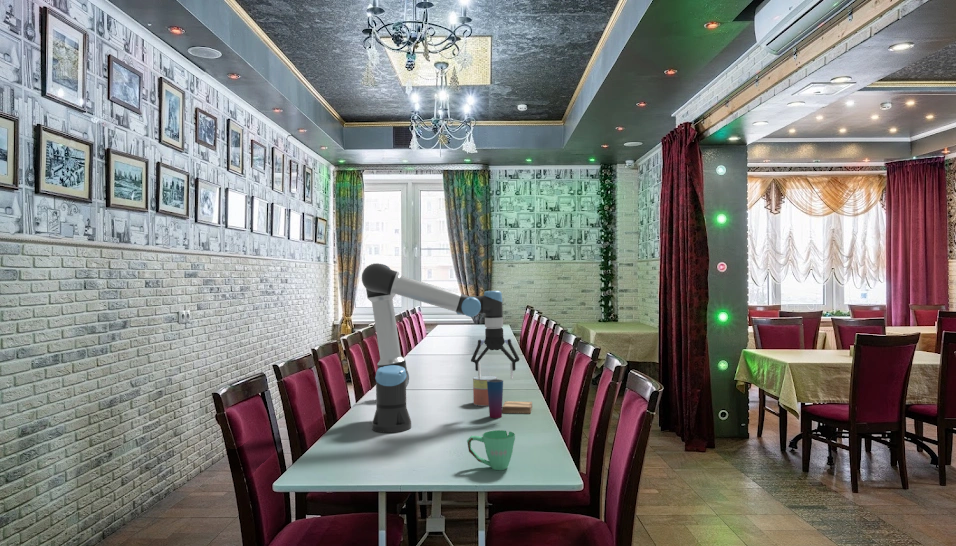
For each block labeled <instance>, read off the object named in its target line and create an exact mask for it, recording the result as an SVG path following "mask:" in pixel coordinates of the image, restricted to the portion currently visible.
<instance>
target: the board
mask: <svg viewBox="0 0 956 546" xmlns="http://www.w3.org/2000/svg"><path fill="white" fill-rule="evenodd" d="M532 410H533V401H510V400H509V401H508V400H507V401H504V403H503V404H502V414H531V413H532Z"/></svg>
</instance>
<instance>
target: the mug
mask: <svg viewBox="0 0 956 546" xmlns="http://www.w3.org/2000/svg"><path fill="white" fill-rule="evenodd" d="M515 440H516V433H515V432H514V431H508V432H507V430H505V429H504V430H500V429H499V430H496V429H495V430H489V431H486V432H484V433H483V434H482V436H479V435H471V436H470V437H469V438H468V439H467V440H466V442H467V450H468V452H469V454H470V455H472V457H474V458H475V460H476V461H478V462H480V463H482V464H484V465H485V466H486V465H487V466H489V467H490V468H491V469H492V470H495V471H504V470H507V469H508V467H509V465H510V462H511V458H512V455H513V451H514V445H515V442H516V441H515ZM472 441H477V442H481V443H483V444H484V449H485V453H486V457H487V459H488V460H487V459H484V458H483V457H480V456H479V455H478V454H477V453H476V452H475V451H474V449H473V448H472Z"/></svg>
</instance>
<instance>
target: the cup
mask: <svg viewBox="0 0 956 546" xmlns="http://www.w3.org/2000/svg"><path fill="white" fill-rule="evenodd" d="M487 388H488V401H489V406H488V412H489V413H488V414H489V418H491V419H500V418H502V416H503V413H502V407H503V395H504V394H503V392H504V380H503V379H500V378H497V379H491V380H487Z"/></svg>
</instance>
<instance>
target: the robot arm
mask: <svg viewBox="0 0 956 546" xmlns="http://www.w3.org/2000/svg"><path fill="white" fill-rule="evenodd" d="M361 282H362V285H363V286H364V288H365V291H366V297H367V300H369V301H370V302H371V305H372V313H373V318H374V325H375V326H374V327H375V332H376V339H377V345H378V351H379V361H378V362H377V370H376V372H375V377H374V379H375V394H376V395H375V398H376V401H375V404H376V407H375V412H374V415H373V419H372V421H371V422H372V423H371V428H372V430H373V432H378V433H387V434H388V433H389V434H390V433H400V432H404V431H408V430H411V428H412V419H411V417H410V413H409V410H408V407H407V387H408V385H409V383H410V382H409V381H410V374H409V372H408V369H407V367H408V366H407V362H406V358H405V357H403V356H402V354H401V346H400V340H399V333H398V327H397V321H396V314H395V313H396V312H395V306H394V301H393V299H394V297H395V296H396V295H398V296H402V297H404V298H408V299H411V300H414V301H418V302H422V303H424V304H428V305H431V306H435V307H437V308H441V309H445V310H448V311H452V312H455V313H456V314H457V315H461V316H466V317H470V318H474V317H475V316H477V315H484V327H485V329H484V330H485V335H484V337H485V339H482V338H481V339H480V338H479V339H478V340H477V346H476V348H475V350H474V352H473V355H472V357H471V359H470V362H471V363H474V364H475V368H474V369H475V372H477V376H478V379H481V376H482V372H481V371H482V370H481V369H482V367H481V362H480V361H481V360H482V359H483V357H484V356H485V355H486V353H487V352H488V351H489V350H490V351H501V352H503V354H504V355H505V356H506V358H507V359H509V361H510V364H509V365H510V368H509V369H510V370H509V371H510V379H511V380H513V379H514V372H515V371H516V363H517V362H520V357H519V355H518V353H517V352H516V350H515V347H514V346H513V343H512V339H511V338H508V339H505V338H504V329H503V327H504V317H503V313H504V312H503V307H504V306H503V293H502V292H501V290H486V291H484V293H483V295H478V296H477V295H473V296H472V295H466V294H463V293H460V292H457V291H454V290H451V289H446V288H443V287H440V286H437V285H434V284H430V283H426V282H423V281H421V280H417V279H413V278H410V277H407V276H403V275H401V274H400V272H399V271H397V270H393V269H391V268H390V267H389V266H388V265H386V264H383V263H378V262H377V263H371V264H369V265H367V266H366V267H365V268H364V269H363V271H362V274H361ZM505 343H506V345H508V347H509V350H510V351H511V353H512V355H513V356H512V355H511V354H510V352H509V351H508V350H507V349H506V348H505V347H504V344H505ZM484 344H485V346H486V347H485V348H484V350H483V351H482V352H481V353H480V355H478V354H479V351H480V349H481V347H482V345H484ZM477 356H478V357H477Z"/></svg>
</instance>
